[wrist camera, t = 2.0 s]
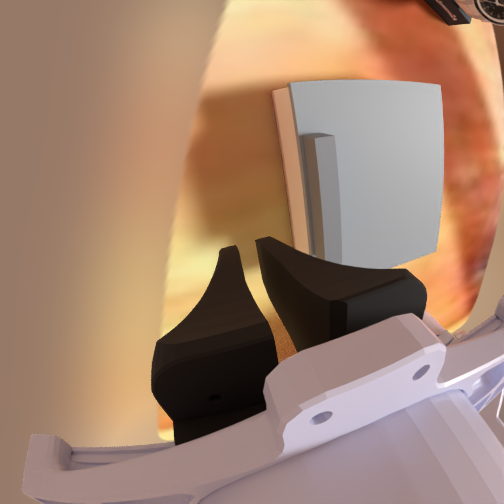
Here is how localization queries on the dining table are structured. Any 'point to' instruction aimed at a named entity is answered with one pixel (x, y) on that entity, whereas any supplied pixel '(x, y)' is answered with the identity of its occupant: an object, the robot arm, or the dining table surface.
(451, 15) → the watch
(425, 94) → the lid
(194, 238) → the dining table surface
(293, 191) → the box
